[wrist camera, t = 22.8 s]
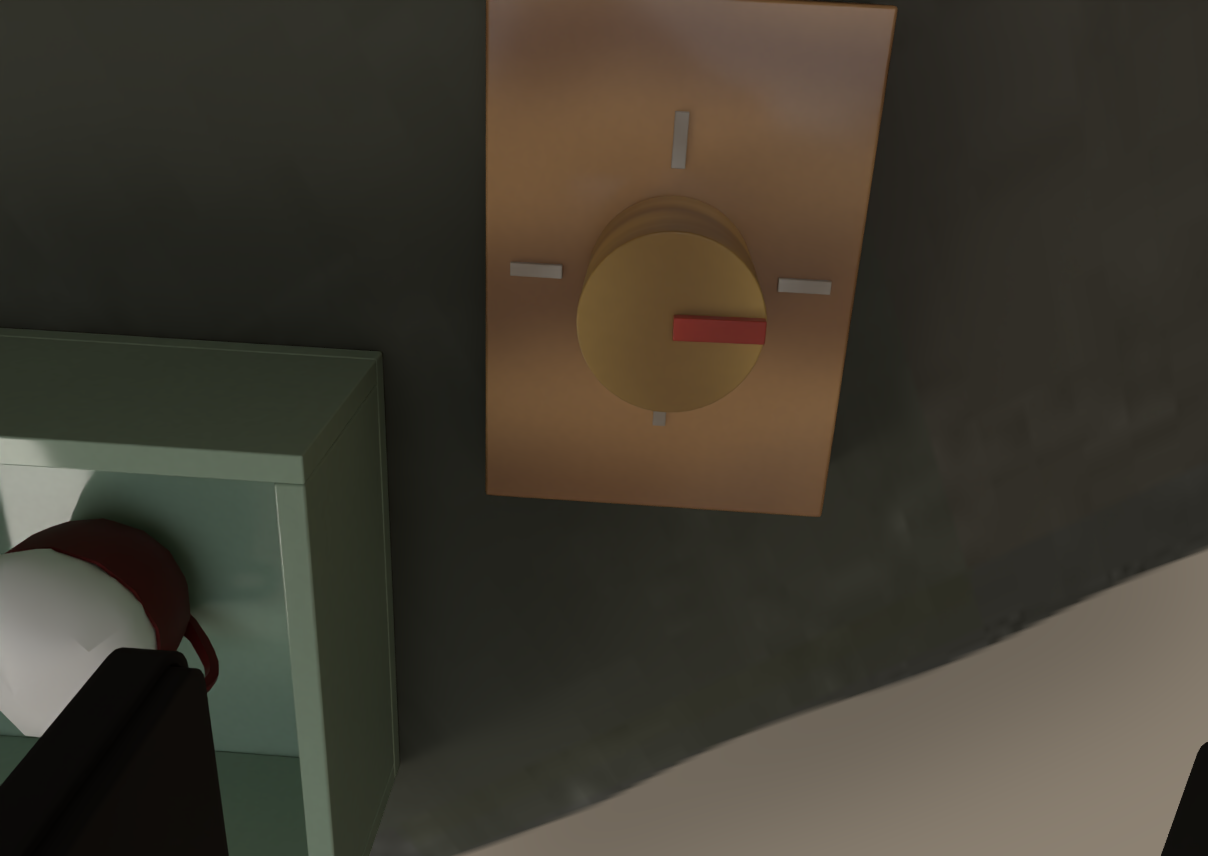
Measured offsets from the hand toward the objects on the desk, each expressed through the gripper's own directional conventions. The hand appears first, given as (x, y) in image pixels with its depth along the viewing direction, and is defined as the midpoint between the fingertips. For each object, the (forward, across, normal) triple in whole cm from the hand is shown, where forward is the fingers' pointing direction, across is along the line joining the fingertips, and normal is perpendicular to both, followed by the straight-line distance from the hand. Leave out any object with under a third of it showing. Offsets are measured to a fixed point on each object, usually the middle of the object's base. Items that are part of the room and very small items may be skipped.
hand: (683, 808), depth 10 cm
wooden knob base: (+22, 0, 0) cm, 22 cm away
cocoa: (+22, +18, +12) cm, 31 cm away
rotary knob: (+19, 0, 0) cm, 19 cm away
